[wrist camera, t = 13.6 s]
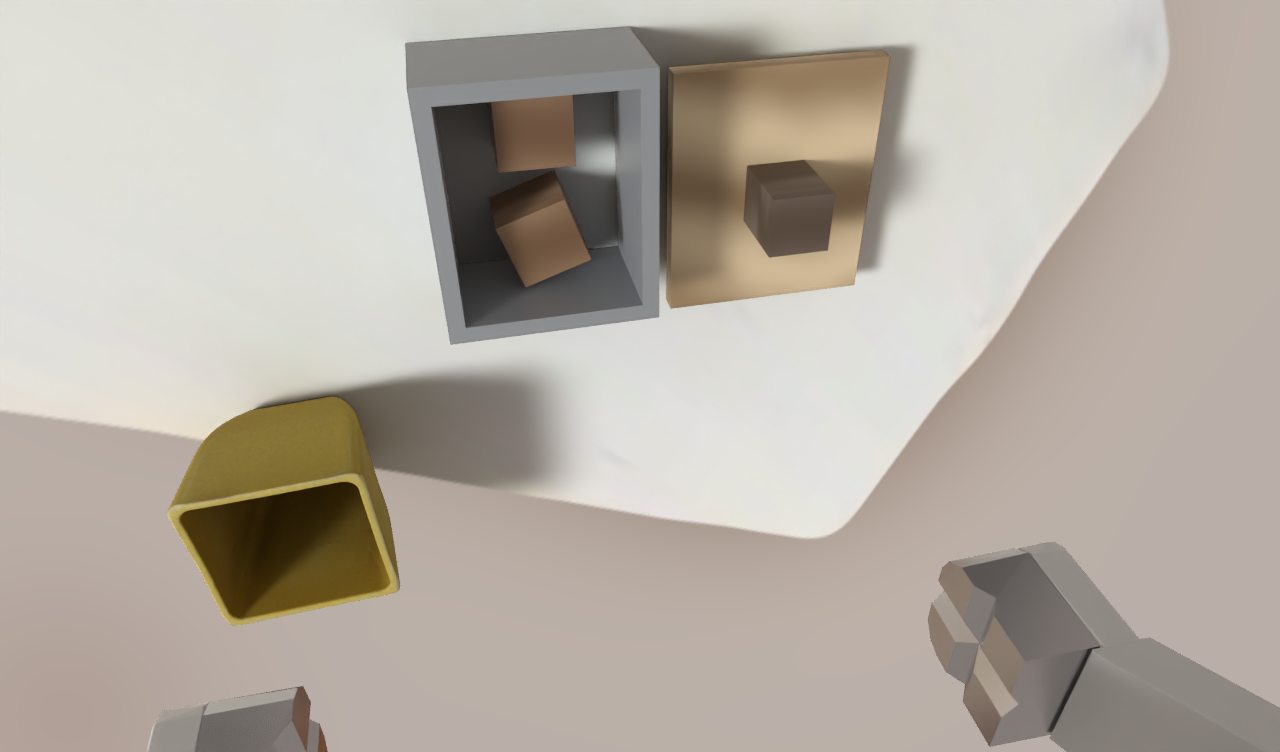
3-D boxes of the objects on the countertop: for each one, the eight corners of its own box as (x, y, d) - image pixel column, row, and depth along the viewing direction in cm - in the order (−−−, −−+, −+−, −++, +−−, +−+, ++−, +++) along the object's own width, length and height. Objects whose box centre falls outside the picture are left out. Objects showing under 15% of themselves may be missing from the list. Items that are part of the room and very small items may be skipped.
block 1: (484, 69, 40) (490, 95, 37) (560, 63, 41) (572, 88, 38) (492, 143, 42) (498, 172, 39) (564, 137, 43) (575, 165, 40)
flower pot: (401, 478, 53) (402, 595, 46) (251, 506, 52) (228, 630, 45) (366, 361, 48) (361, 472, 41) (197, 389, 46) (162, 509, 39)
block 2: (489, 197, 44) (495, 229, 41) (553, 169, 44) (564, 199, 41) (518, 253, 46) (525, 287, 43) (579, 227, 46) (591, 259, 43)
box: (405, 43, 38) (406, 88, 34) (629, 26, 40) (659, 67, 35) (444, 280, 46) (450, 344, 41) (633, 257, 47) (659, 317, 43)
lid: (662, 59, 42) (697, 104, 37) (870, 42, 43) (930, 83, 39) (661, 288, 49) (690, 350, 44) (838, 265, 51) (885, 323, 46)
